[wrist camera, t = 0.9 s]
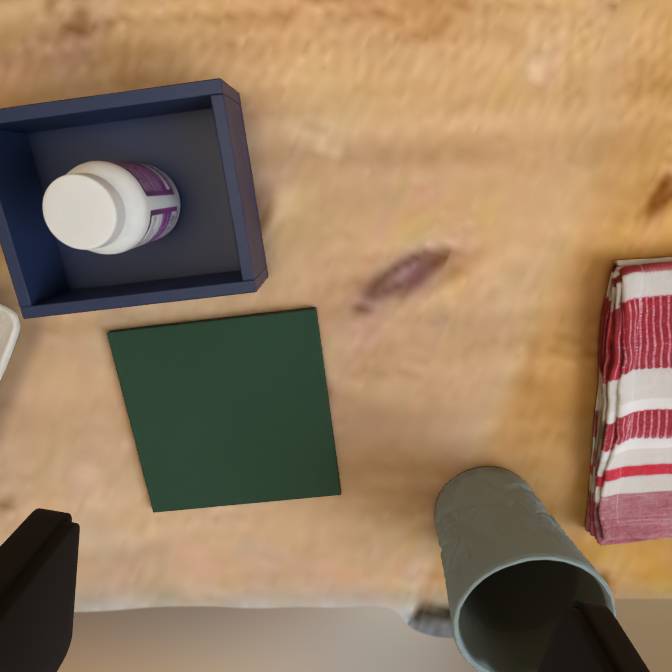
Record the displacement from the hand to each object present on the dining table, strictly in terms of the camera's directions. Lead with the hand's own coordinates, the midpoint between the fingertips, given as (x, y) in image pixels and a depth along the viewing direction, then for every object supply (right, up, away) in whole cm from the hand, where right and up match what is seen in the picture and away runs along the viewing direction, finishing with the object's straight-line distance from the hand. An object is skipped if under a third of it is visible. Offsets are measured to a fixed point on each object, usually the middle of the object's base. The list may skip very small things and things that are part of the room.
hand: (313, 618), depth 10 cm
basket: (-13, +15, +27) cm, 34 cm away
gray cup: (+13, -9, +34) cm, 38 cm away
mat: (-8, -1, +32) cm, 33 cm away
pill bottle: (-13, +15, +27) cm, 34 cm away
